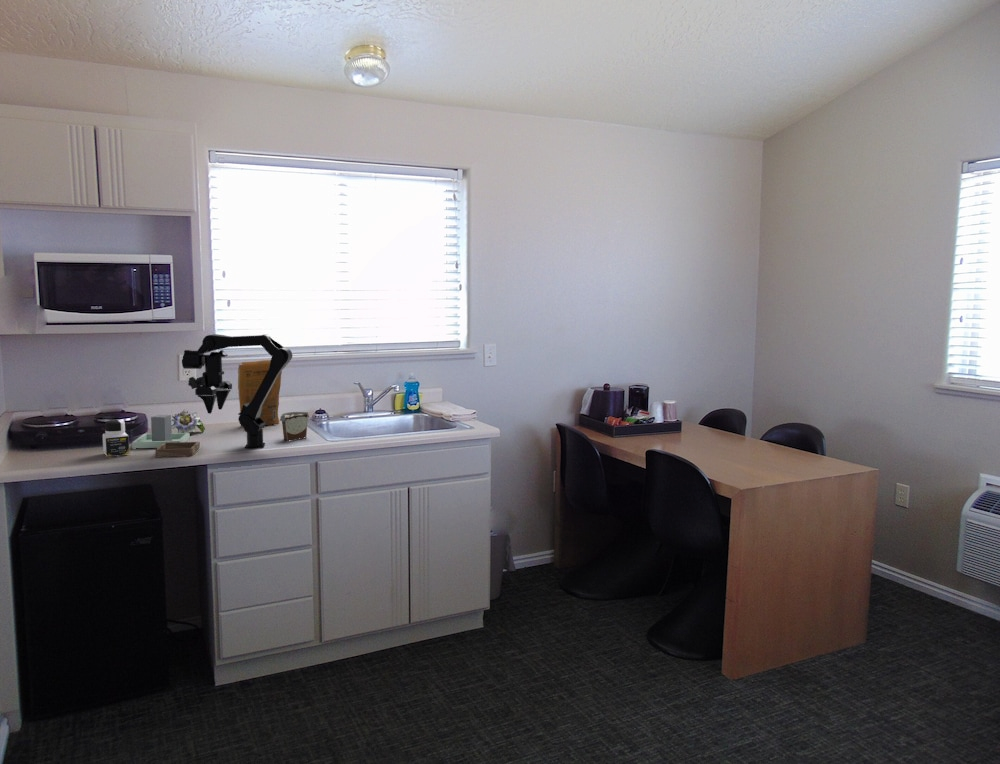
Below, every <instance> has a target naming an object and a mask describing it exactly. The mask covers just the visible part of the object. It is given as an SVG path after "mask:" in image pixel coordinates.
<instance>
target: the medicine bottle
mask: <svg viewBox="0 0 1000 764" xmlns="http://www.w3.org/2000/svg"><path fill="white" fill-rule="evenodd" d="M104 428H105V429H104V430H105V431H104V432H105V433H103V434H102V449H103V455H104V454H105V455H106V456H117V455H127V454H129V455H130V438H129V437H130V436H129V434H127V432H126V422H125V421H124V420H122V419H112V420H108V421H105V423H104ZM105 455H104V456H105ZM106 456H105V457H106ZM127 456H128V455H127ZM117 457H118V456H117Z"/></svg>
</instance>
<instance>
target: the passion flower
mask: <svg viewBox="0 0 1000 764" xmlns="http://www.w3.org/2000/svg"><path fill="white" fill-rule="evenodd" d="M197 415H198V412H197V411H194V412H192V413H189V411H188V409H186V408H184V409H183V411H181V412H180V413H175V414H174V415H171V422H173V424H171V429H172V430H173V429H175V428H176V429H177V433H189V431H191V432H192V433H195V432H196V427H197V428H198V429H199V430H200V431H201V433H203V432H205V431H206V428H205V426H204V423H203V422H202V421H201V417H197Z"/></svg>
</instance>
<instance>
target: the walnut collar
mask: <svg viewBox="0 0 1000 764" xmlns="http://www.w3.org/2000/svg"><path fill="white" fill-rule="evenodd" d="M200 443H201V442H200V441H188V442H170V443H163V444H162V445H161V446H159V447H158V448H157V449H154V450H155V451H154V452H155V457H156V456H171V457H193V456H194V455H195V454H196V453H197V452H198V451H199V450H200V449H199V448H200V445H201V444H200ZM198 449H199V450H198ZM197 450H198V451H197Z"/></svg>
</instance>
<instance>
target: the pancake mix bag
mask: <svg viewBox="0 0 1000 764" xmlns="http://www.w3.org/2000/svg"><path fill="white" fill-rule="evenodd" d="M270 361H271V359H267V360H258V361H243V362H241V364H238V369H237V374H238V375H237V390H238V401H239V413H240V412H241V410H242V407H243V405H244V404H246V403H251V401H252V400H253V398H254V396H255V394H256V392H257V390H258V388H259V387H260V385H261V383H262V381H263V379H264V377H265V375H266V374H267V372H268V370H269V366H270ZM282 373H283V370H282V371H281V372H280V373H279V375H278V377H277V379H276V381H275V383H274V385H273V386H272V388H271V390H270V392H269V394H268V396H267V398H266V399H265V401H264V403H263V405H262V410H261V414H260V418H261V419H262V420H263V421H264V422H265V425H268V426H272V425H271V424H277V423H279V422H280V418H279V405H280V391H281V385H282V384H281V383H282ZM279 424H280V423H279ZM277 425H278V424H277ZM241 426H242V425H241V424H240V427H241Z"/></svg>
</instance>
